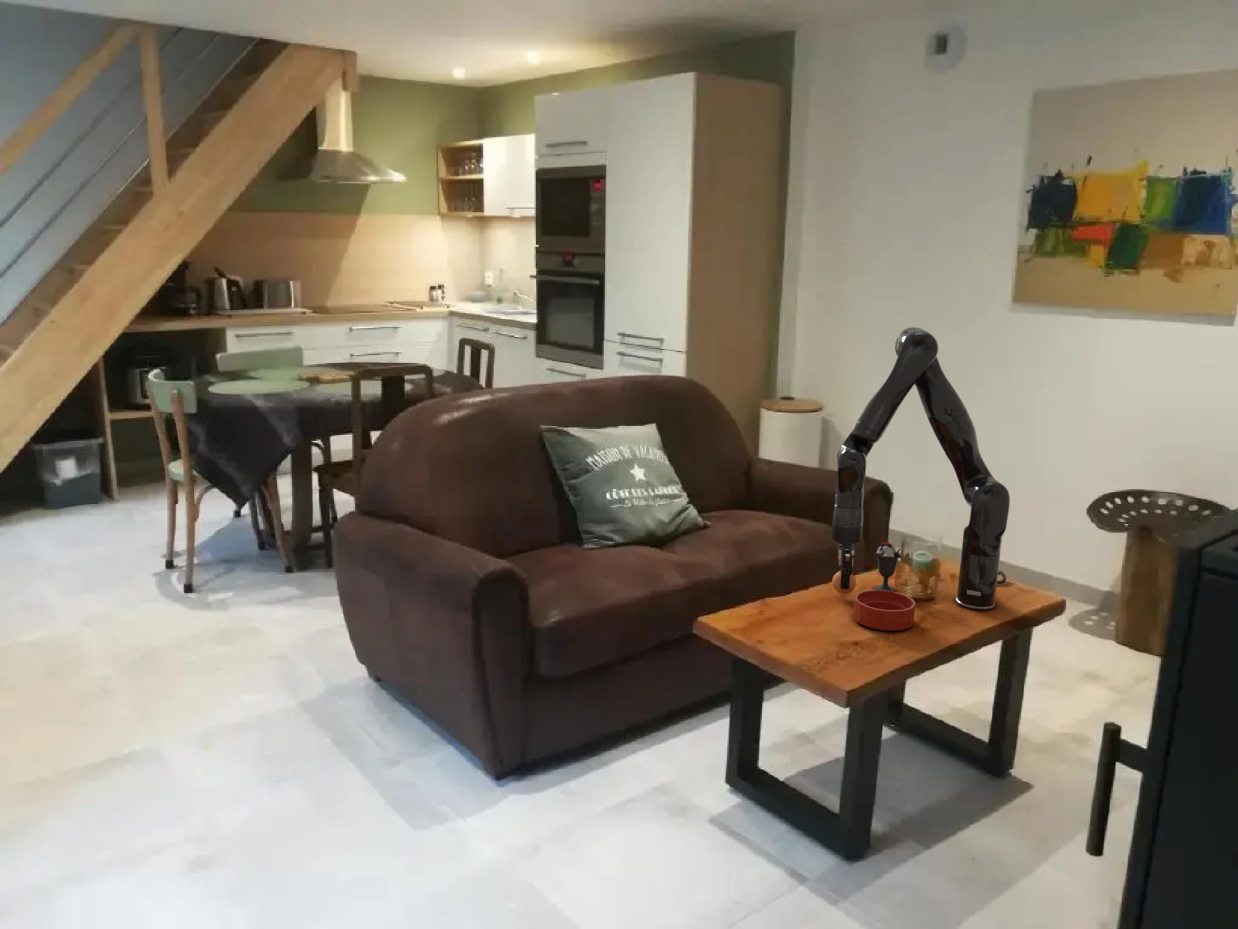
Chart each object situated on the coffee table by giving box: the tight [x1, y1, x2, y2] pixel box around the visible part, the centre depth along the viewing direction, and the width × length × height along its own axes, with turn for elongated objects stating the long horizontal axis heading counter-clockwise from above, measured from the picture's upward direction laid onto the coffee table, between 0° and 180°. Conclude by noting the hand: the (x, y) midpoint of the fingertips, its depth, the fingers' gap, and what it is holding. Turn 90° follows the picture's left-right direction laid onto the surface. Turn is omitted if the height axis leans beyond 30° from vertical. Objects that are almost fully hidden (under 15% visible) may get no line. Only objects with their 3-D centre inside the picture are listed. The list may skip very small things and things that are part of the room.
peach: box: [831, 568, 857, 595], centre depth 251 cm, size 6×6×7 cm
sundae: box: [874, 534, 902, 592], centre depth 257 cm, size 7×7×15 cm
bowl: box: [852, 589, 916, 632], centre depth 236 cm, size 14×14×6 cm
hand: (843, 584), depth 252 cm, fingers closed on peach, 6 cm apart
